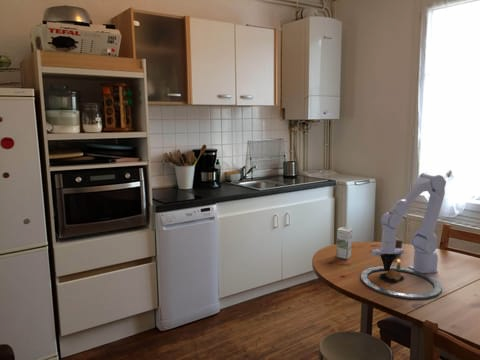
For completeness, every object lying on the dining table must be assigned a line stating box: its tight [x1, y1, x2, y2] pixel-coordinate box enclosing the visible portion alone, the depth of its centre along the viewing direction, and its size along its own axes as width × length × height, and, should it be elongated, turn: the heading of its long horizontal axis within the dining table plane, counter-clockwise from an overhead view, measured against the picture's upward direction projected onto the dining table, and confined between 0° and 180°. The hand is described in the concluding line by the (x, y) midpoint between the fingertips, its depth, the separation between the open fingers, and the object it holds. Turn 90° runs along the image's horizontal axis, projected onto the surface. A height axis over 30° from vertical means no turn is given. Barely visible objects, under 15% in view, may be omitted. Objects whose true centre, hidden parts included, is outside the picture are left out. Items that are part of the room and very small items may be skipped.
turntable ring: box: [360, 258, 443, 300], centre depth 167 cm, size 31×36×3 cm
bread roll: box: [377, 270, 405, 285], centre depth 169 cm, size 11×8×4 cm
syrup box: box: [336, 226, 353, 260], centre depth 193 cm, size 6×6×14 cm
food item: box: [394, 234, 403, 257], centre depth 202 cm, size 14×8×10 cm, turn 176°
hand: (386, 269), depth 175 cm, fingers closed
